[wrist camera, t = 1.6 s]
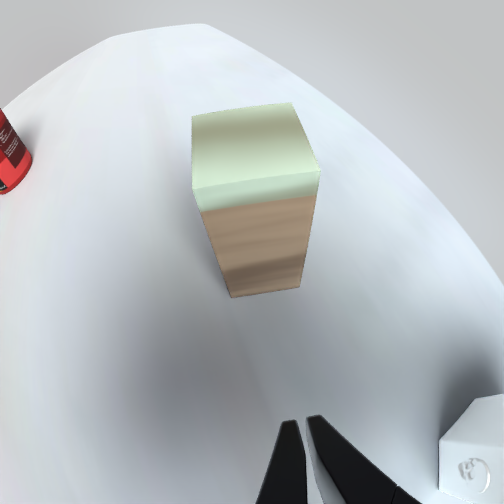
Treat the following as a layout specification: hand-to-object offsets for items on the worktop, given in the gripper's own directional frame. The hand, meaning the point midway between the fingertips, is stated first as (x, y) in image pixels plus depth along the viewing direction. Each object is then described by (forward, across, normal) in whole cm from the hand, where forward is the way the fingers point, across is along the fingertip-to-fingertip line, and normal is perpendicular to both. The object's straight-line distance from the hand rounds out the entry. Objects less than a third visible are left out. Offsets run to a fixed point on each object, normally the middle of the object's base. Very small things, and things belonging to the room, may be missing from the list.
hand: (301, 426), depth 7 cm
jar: (+3, -14, +14) cm, 20 cm away
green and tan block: (+16, 0, 0) cm, 16 cm away
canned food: (+30, +33, -14) cm, 47 cm away
